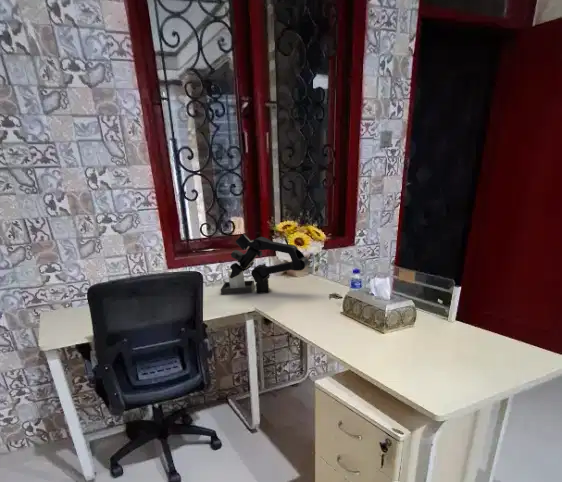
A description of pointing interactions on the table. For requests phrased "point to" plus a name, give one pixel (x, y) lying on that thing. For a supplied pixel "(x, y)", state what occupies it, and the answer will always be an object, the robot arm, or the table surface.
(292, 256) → the robot arm
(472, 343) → the table surface
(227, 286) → the pan
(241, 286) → the small box
